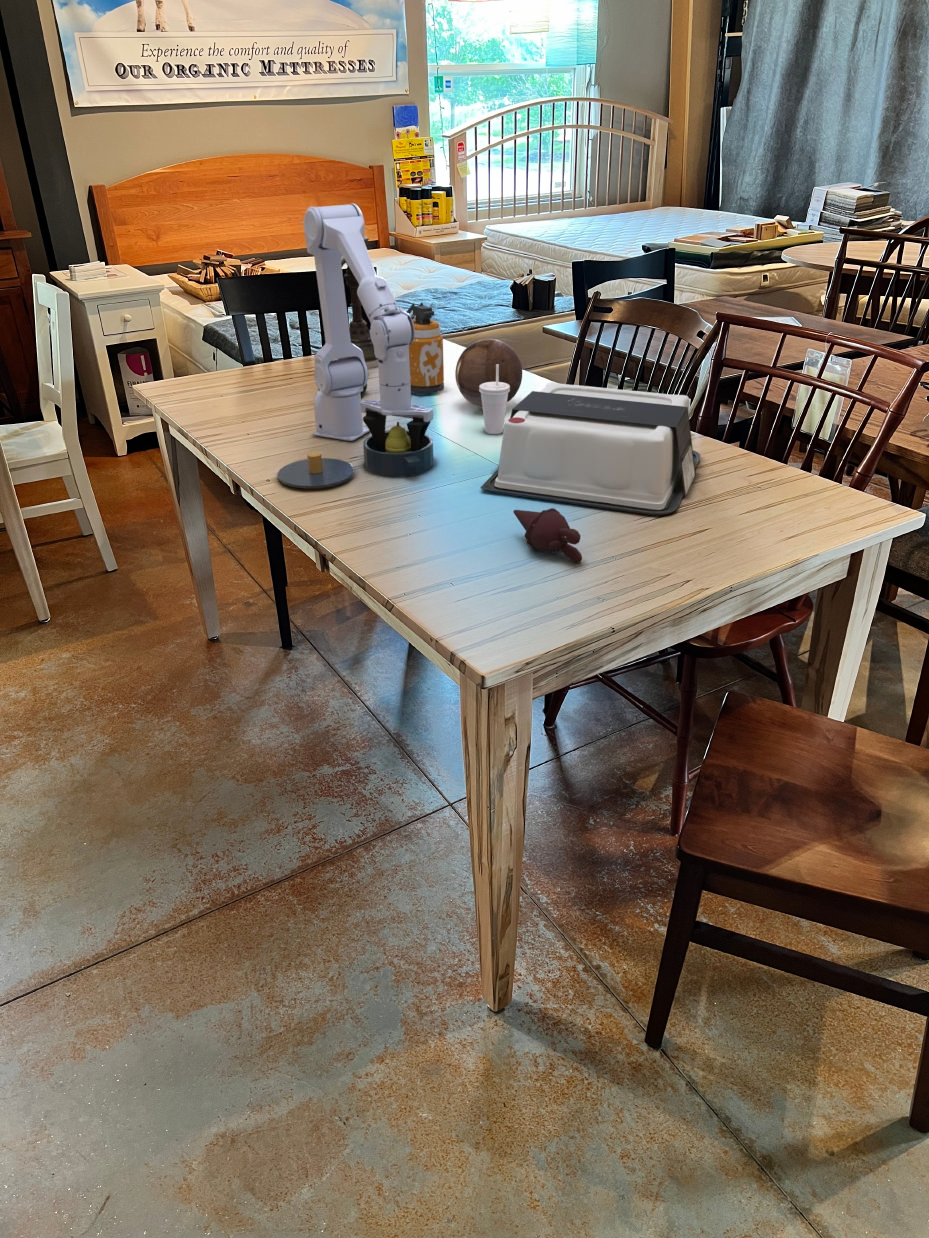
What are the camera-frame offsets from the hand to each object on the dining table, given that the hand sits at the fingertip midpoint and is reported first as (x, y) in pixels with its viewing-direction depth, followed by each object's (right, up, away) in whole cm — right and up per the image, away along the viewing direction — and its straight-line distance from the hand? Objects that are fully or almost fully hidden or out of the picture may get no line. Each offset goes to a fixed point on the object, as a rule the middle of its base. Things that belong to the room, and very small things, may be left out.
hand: (398, 453), depth 166 cm
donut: (-16, +22, +41) cm, 50 cm away
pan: (0, -2, +1) cm, 2 cm away
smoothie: (+19, +8, +17) cm, 27 cm away
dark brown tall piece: (-17, +36, +64) cm, 75 cm away
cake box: (+37, -5, -4) cm, 38 cm away
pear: (0, -2, +1) cm, 2 cm away
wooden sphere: (+18, +16, +32) cm, 40 cm away
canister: (+3, +23, +44) cm, 50 cm away
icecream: (+25, -21, -31) cm, 45 cm away
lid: (-15, -5, -4) cm, 16 cm away
